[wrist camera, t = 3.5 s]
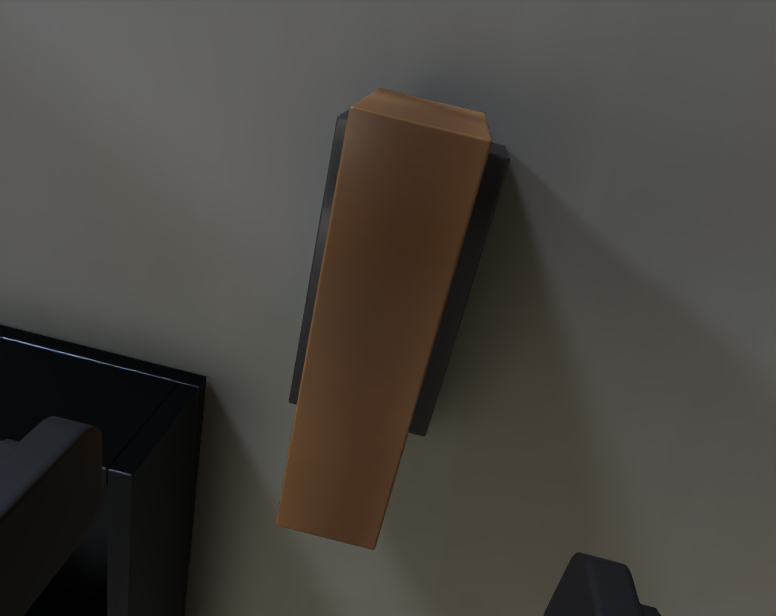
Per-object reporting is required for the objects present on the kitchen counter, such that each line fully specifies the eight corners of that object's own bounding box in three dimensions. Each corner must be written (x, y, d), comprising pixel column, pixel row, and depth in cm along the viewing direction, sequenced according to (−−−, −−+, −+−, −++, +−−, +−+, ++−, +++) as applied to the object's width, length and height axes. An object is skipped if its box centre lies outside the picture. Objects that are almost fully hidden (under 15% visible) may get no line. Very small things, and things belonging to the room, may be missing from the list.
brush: (298, 394, 23) (242, 517, 17) (355, 73, 18) (302, 93, 12) (422, 425, 23) (407, 559, 17) (516, 112, 18) (541, 151, 12)
